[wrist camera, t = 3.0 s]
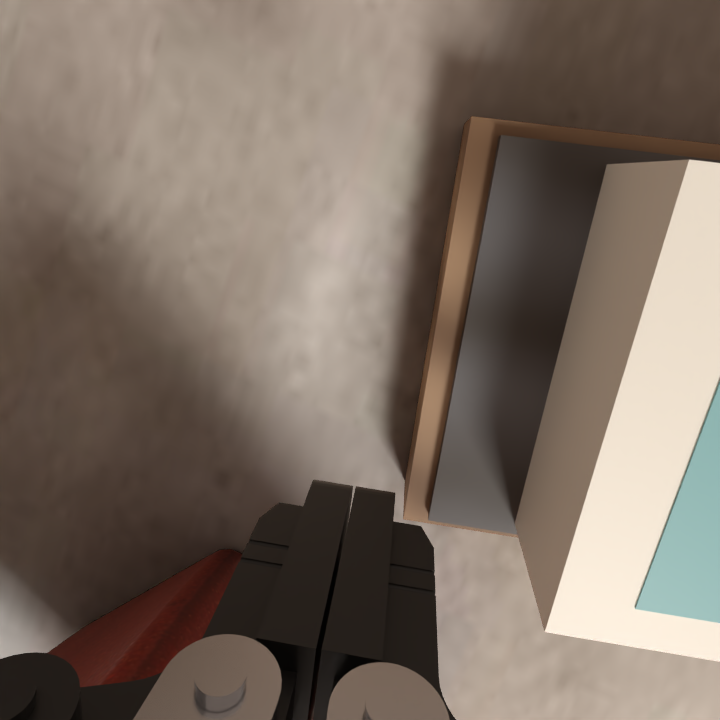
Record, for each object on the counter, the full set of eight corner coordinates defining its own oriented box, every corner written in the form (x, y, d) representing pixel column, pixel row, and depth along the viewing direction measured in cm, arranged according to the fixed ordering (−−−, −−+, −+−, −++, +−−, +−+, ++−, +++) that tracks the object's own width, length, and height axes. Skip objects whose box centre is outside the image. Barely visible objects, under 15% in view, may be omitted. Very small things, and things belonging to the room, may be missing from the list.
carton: (606, 164, 17) (690, 159, 12) (849, 192, 17) (1046, 200, 11) (514, 523, 22) (545, 633, 17) (700, 553, 21) (792, 675, 16)
